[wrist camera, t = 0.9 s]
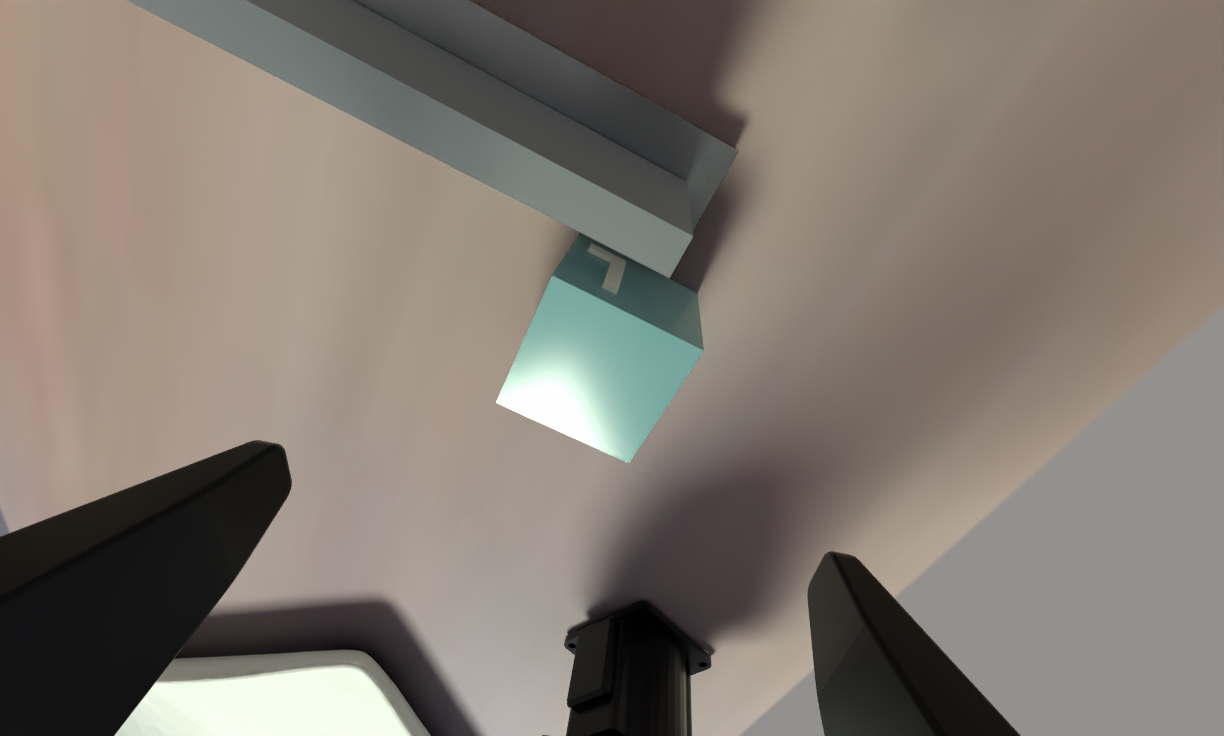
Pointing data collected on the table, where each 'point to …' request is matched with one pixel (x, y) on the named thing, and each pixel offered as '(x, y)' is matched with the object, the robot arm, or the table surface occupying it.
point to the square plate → (274, 698)
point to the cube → (605, 350)
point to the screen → (453, 116)
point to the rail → (568, 89)
